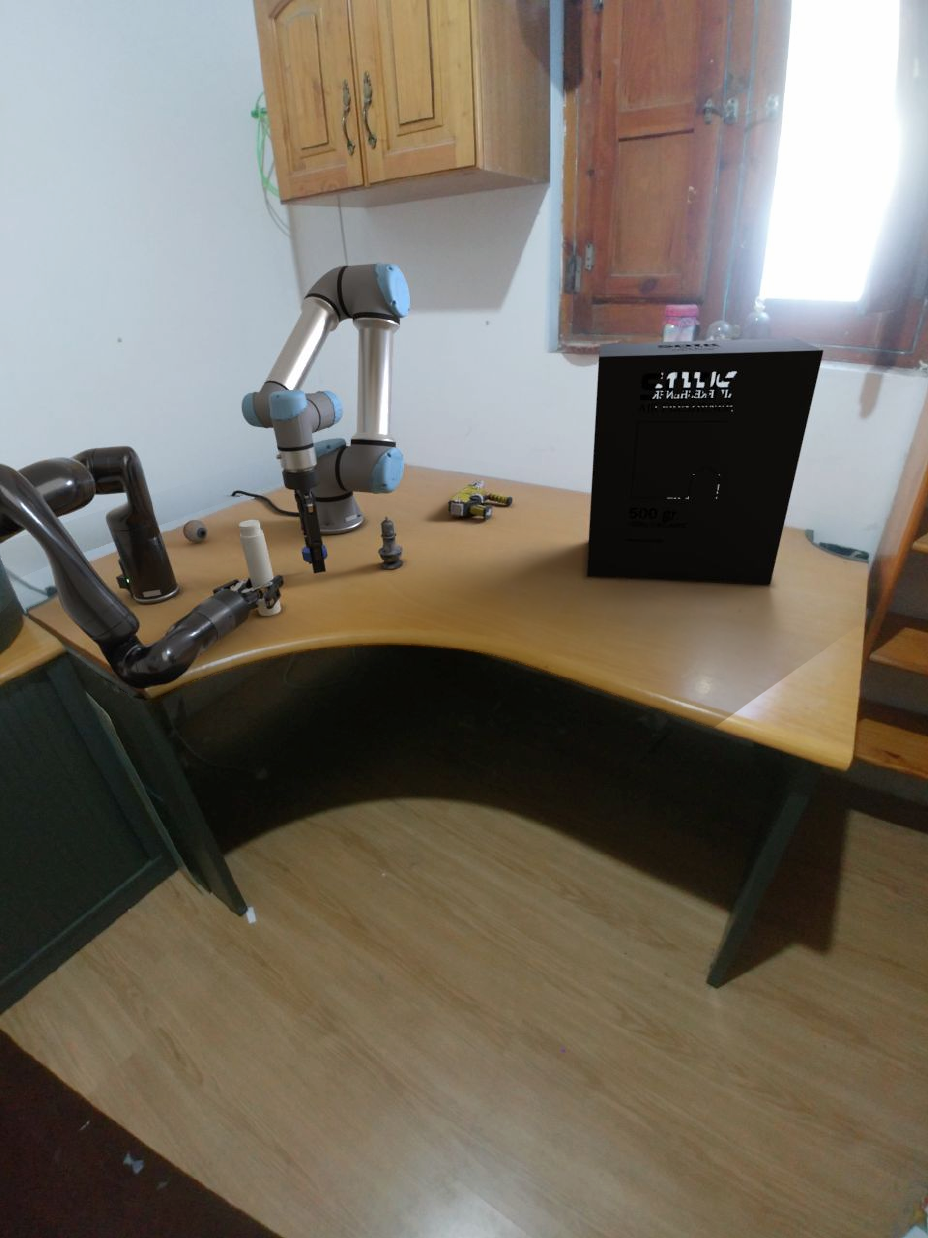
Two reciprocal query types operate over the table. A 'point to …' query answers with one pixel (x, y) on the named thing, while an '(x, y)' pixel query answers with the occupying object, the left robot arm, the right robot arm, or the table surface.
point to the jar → (257, 559)
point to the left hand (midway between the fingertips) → (270, 577)
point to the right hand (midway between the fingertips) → (317, 566)
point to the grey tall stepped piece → (389, 546)
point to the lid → (307, 553)
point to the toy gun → (475, 501)
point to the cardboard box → (696, 457)
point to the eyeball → (195, 531)
